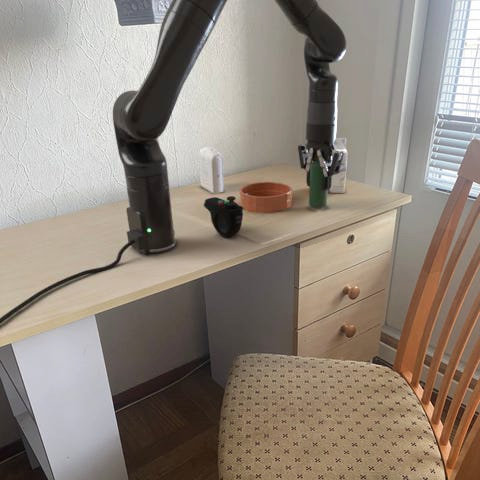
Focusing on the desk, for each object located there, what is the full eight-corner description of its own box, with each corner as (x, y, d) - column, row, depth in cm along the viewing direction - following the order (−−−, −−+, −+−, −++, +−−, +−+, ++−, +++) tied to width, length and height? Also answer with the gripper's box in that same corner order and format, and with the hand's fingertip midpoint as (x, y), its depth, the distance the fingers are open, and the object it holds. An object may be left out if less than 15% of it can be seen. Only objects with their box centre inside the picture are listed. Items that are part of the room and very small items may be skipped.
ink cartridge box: (315, 193, 151) (317, 141, 143) (314, 188, 155) (316, 137, 148) (344, 193, 150) (348, 141, 142) (343, 188, 154) (347, 137, 147)
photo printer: (226, 192, 155) (224, 149, 149) (213, 194, 153) (210, 152, 147) (211, 184, 163) (209, 143, 156) (199, 186, 161) (196, 145, 155)
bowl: (264, 217, 135) (264, 200, 132) (229, 205, 144) (229, 189, 142) (302, 205, 142) (302, 188, 140) (267, 194, 152) (267, 179, 150)
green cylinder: (318, 208, 136) (320, 166, 131) (305, 204, 139) (306, 163, 134) (330, 204, 139) (332, 162, 133) (317, 200, 142) (319, 159, 136)
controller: (232, 244, 120) (230, 202, 115) (203, 229, 129) (200, 190, 123) (247, 239, 122) (245, 198, 117) (217, 225, 131) (215, 186, 126)
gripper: (290, 119, 131) (289, 185, 140) (333, 126, 121) (329, 197, 130) (310, 115, 135) (308, 180, 144) (354, 121, 125) (348, 190, 134)
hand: (318, 187), depth 137 cm, fingers closed on green cylinder, 5 cm apart
